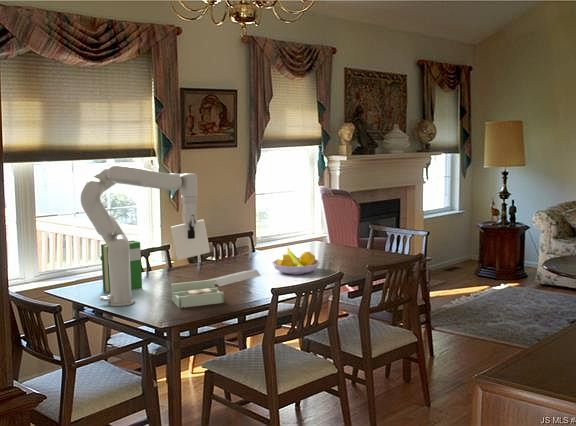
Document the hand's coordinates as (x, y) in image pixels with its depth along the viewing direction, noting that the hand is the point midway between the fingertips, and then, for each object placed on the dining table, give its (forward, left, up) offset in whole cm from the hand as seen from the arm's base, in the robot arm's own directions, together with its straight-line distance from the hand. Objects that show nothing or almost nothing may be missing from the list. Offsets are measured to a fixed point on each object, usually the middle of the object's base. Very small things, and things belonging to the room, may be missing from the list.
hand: (190, 237), depth 318 cm
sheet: (+1, 0, -9) cm, 9 cm away
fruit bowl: (+68, +31, -29) cm, 81 cm away
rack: (0, -8, -29) cm, 30 cm away
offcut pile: (0, -11, -29) cm, 31 cm away
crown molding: (+30, +29, -30) cm, 51 cm away
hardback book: (-28, +31, -29) cm, 51 cm away
